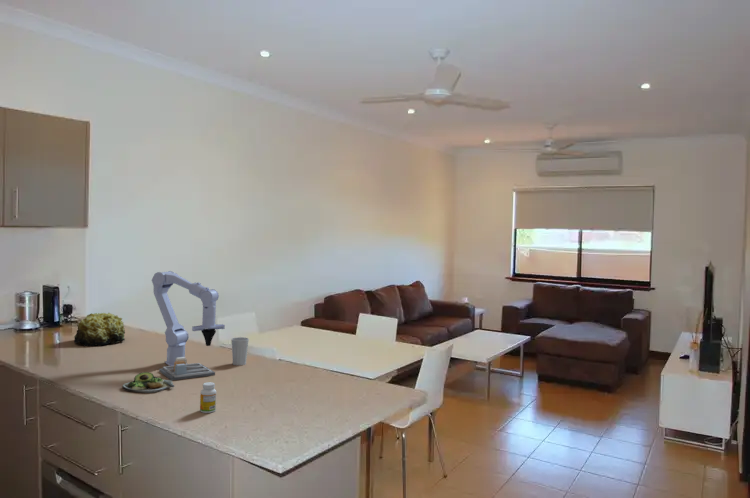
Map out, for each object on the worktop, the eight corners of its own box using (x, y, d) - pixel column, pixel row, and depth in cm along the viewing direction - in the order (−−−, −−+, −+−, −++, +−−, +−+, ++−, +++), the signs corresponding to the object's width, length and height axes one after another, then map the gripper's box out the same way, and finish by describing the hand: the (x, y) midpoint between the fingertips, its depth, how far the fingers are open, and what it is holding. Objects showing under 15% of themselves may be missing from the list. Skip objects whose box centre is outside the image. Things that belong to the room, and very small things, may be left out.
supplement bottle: (201, 408, 200) (202, 381, 200) (217, 408, 200) (218, 381, 200) (198, 413, 194) (199, 385, 194) (214, 413, 195) (215, 385, 195)
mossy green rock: (109, 336, 319) (110, 308, 318) (133, 342, 305) (134, 313, 304) (64, 342, 299) (65, 312, 298) (87, 349, 284) (88, 318, 284)
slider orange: (173, 371, 243) (174, 360, 243) (183, 370, 246) (183, 360, 246) (176, 372, 241) (176, 362, 241) (185, 371, 243) (185, 361, 243)
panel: (159, 371, 247) (159, 366, 247) (201, 366, 258) (201, 362, 258) (171, 380, 233) (171, 376, 233) (215, 375, 244) (215, 370, 244)
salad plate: (186, 385, 229) (186, 374, 228) (157, 397, 212) (157, 385, 211) (147, 379, 234) (147, 368, 234) (115, 390, 217) (116, 378, 217)
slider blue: (174, 374, 238) (175, 364, 237) (184, 373, 240) (184, 363, 240) (176, 376, 235) (177, 365, 235) (186, 375, 238) (186, 364, 237)
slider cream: (175, 367, 250) (175, 357, 249) (184, 366, 252) (184, 356, 252) (177, 369, 247) (177, 358, 247) (186, 368, 250) (186, 358, 249)
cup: (243, 366, 262) (244, 341, 262) (227, 364, 264) (228, 339, 263) (250, 362, 270) (251, 338, 270) (235, 361, 271) (236, 336, 271)
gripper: (196, 318, 248) (195, 348, 248) (227, 316, 257) (226, 345, 257) (191, 316, 254) (190, 345, 254) (221, 314, 262) (220, 342, 263)
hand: (208, 345), depth 256 cm, fingers closed
